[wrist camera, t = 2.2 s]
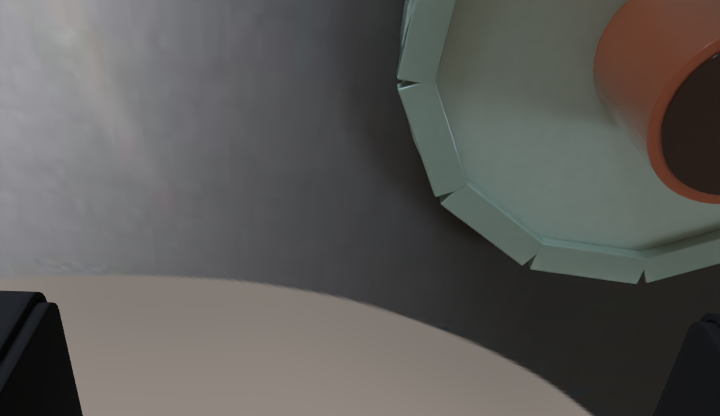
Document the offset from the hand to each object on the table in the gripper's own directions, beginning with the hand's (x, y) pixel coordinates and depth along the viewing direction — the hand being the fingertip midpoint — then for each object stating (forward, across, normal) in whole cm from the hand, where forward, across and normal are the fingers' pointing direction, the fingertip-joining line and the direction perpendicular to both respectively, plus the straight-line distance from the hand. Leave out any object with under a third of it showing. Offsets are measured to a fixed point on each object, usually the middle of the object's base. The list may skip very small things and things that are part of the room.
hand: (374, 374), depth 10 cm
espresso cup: (+16, -12, 0) cm, 20 cm away
